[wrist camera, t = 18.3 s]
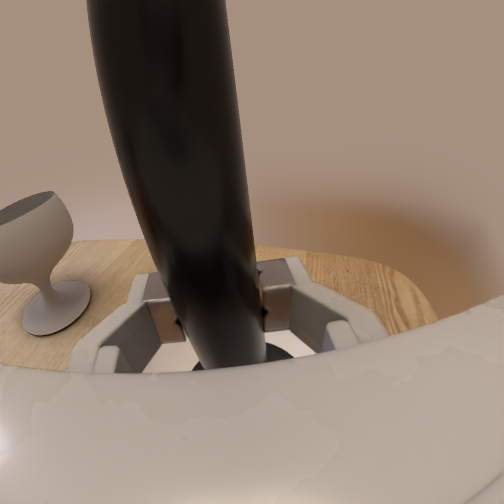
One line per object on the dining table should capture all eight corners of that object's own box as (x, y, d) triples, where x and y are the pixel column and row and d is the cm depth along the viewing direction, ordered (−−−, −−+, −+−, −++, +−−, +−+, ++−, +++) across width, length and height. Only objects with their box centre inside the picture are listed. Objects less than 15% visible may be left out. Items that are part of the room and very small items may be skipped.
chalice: (10, 349, 24) (-45, 248, 17) (29, 291, 35) (-4, 207, 28) (95, 330, 29) (47, 211, 21) (99, 271, 40) (72, 180, 32)
